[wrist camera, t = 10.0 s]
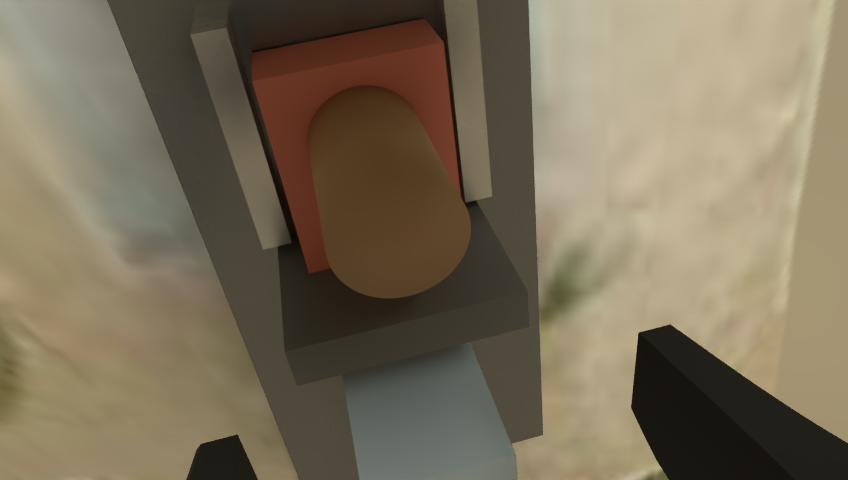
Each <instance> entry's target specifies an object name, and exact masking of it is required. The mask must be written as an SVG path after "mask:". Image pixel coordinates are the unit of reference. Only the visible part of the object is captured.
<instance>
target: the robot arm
mask: <svg viewBox="0 0 848 480" xmlns="http://www.w3.org/2000/svg"><path fill="white" fill-rule="evenodd" d="M631 408H632V411H633V413H634V415H635V417H636V419H637V421H638V423H639V425H640V427H641V430H642V432H643V434H644V436H645V438H646V440H647V442H648V444H649V446H650V448H651V450H652V452H653V454H654V456H655V458H656V460H657V461H658V463H659V465H660V466H661V468H662V469H663V471H664V473H665V474H666V476H667V477H668V479H669V480H848V443H846V442H845V441H843V440H841V439H840V438H838V437H837V436H835V435H833V434H832V433H830V432H828V431H826V430H825V429H823V428H822V427H820V426H818V425H816V424H815V423H813V422H812V421H810V420H808V419H807V418H805V417H804V416H802V415H800V414H799V413H798V412H796V411H794V410H793V409H791V408H790V407H788V406H787V405H785V404H784V403H782V402H781V401H779V400H778V399H776V398H775V397H773V396H772V395H770V394H769V393H767V392H766V391H764V390H763V389H761V388H760V387H758V386H757V385H755V384H754V383H753V382H751V381H750V380H748V379H747V378H745V377H744V376H742V375H741V374H739V373H738V372H737V371H735V370H734V369H732V368H731V367H730V366H728V365H727V364H725V363H724V362H722V361H721V360H720V359H718V358H717V357H715V356H714V355H713V354H711V353H710V352H708V351H707V350H706V349H704V348H703V347H701V346H700V345H698V344H697V343H696V342H694V341H693V340H691V339H690V338H689V337H687V336H686V335H684V334H683V333H682V332H680V331H679V330H677V329H676V328H674V327H673V326H671V325H667V326H663V327H659V328H655V329H651V330H647V331H643V332H639V334H638V344H637V354H636V364H635V375H634V385H633V395H632V405H631ZM186 480H258V479H257V477H256V474H255V472H254V470H253V468H252V466H251V463H250V461H249V459H248V457H247V454H246V452H245V450H244V448H243V446H242V443H241V441H240V439H239V437H238V435H234V436H230V437H227V438H223V439H219V440H215V441H211V442H207V443H203V444H201V445H200V446H199V447H198V449H197V450H196V453H195V456H194V459H193V462H192V465H191V468H190V471H189V474H188V477H187V479H186Z"/></svg>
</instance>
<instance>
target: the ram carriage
mask: <svg viewBox="0 0 848 480" xmlns="http://www.w3.org/2000/svg"><path fill="white" fill-rule="evenodd" d="M252 82H253V85H254V89H255V92H256V96H257V99H258V102H259V106H260V109H261V113H262V116H263V119H264V123H265V126H266V129H267V133H268V136H269V140H270V143H271V146H272V150H273V153H274V157H275V160H276V163H277V167H278V170H279V173H280V177H281V180H282V184H283V187H284V190H285V194H286V197H287V201H288V204H289V207H290V211H291V214H292V217H293V221H294V224H295V228H296V231H297V234H298V235H296V236H292V237H291V240H292V243H290V244H285V245H281V246H277V247H278V262H279V276H280V291H281V306H282V321H283V336H284V351H285V354H286V357H287V360H288V363H289V366H290V369H291V371H292V374H293V377H294V380H295V383H296V385H297V386H301V385H304V384H308V383H312V382H316V381H320V380H324V379H328V378H332V377H336V376H340V375H343V374H347V373H351V372H355V371H359V370H363V369H367V368H371V367H375V366H379V365H383V364H386V363H390V362H394V361H398V360H402V359H406V358H410V357H414V356H418V355H422V354H425V353H429V352H433V351H437V350H441V349H445V348H449V347H453V346H457V345H461V344H464V343H468V342H472V341H476V340H480V339H484V338H488V337H492V336H496V335H500V334H504V333H507V332H511V331H515V330H519V329H523V328H527V327H529V309H528V291H527V289H526V287H525V286H524V284H523V282H522V280H521V278H520V277H519V275H518V273H517V271H516V270H515V268H514V266H513V264H512V263H511V261H510V259H509V257H508V256H507V254H506V252H505V250H504V249H503V247H502V245H501V243H500V242H499V240H498V238H497V236H496V234H495V233H494V231H493V229H492V227H491V226H490V224H489V222H488V220H487V219H486V217H485V215H484V213H483V212H482V210H481V208H480V206H479V205H478V203H477V201H476V200H475V201H470V202H466V203H465V201H464V199H463V197H461V193H460V184H459V175H458V166H457V157H456V148H455V139H454V130H453V121H452V113H451V104H450V95H449V86H448V77H447V68H446V59H445V50H444V42H443V41H442V40H441V38H440V37H439V36H438V35H437V33H436V32H435V31H434V30H433V28H432V27H431V26H430V25H429V23H428V22H427V21H426V20H425V18H424V19H419V20H414V21H409V22H404V23H399V24H394V25H389V26H384V27H379V28H374V29H369V30H364V31H359V32H354V33H349V34H344V35H339V36H334V37H329V38H324V39H319V40H314V41H309V42H304V43H299V44H294V45H289V46H284V47H279V48H274V49H269V50H264V51H259V52H254V53H252Z"/></svg>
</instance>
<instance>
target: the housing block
mask: <svg viewBox="0 0 848 480" xmlns="http://www.w3.org/2000/svg"><path fill="white" fill-rule="evenodd" d="M342 377H343V383H344V389H345V395H346V401H347V407H348V413H349V419H350V425H351V431H352V437H353V443H354V449H355V455H356V462H357V468H358V474H359V480H518V478H517V466H516V454H515V452H514V449H513V447H512V444H511V442H510V439H509V437H508V434H507V432H506V429H505V427H504V425H503V422H502V420H501V417H500V415H499V412H498V410H497V407H496V405H495V403H494V400H493V398H492V395H491V393H490V390H489V388H488V385H487V383H486V381H485V378H484V376H483V373H482V371H481V368H480V366H479V363H478V361H477V359H476V356H475V354H474V351H473V349H472V346H471V344H470V342H468V343H464V344H461V345H457V346H453V347H449V348H445V349H441V350H437V351H433V352H429V353H425V354H422V355H418V356H414V357H410V358H406V359H402V360H398V361H394V362H390V363H386V364H383V365H379V366H375V367H371V368H367V369H363V370H359V371H355V372H351V373H347V374H343V375H342Z"/></svg>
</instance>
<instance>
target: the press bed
mask: <svg viewBox="0 0 848 480" xmlns="http://www.w3.org/2000/svg"><path fill="white" fill-rule="evenodd" d="M107 1H108V3H109V6H110V8H111V11H112V13H113V16H114V18H115V21H116V23H117V26H118V28H119V31H120V33H121V36H122V38H123V41H124V43H125V46H126V48H127V51H128V53H129V56H130V58H131V61H132V63H133V66H134V68H135V71H136V73H137V75H138V78H139V80H140V83H141V85H142V88H143V90H144V93H145V95H146V98H147V100H148V103H149V105H150V108H151V110H152V113H153V115H154V118H155V120H156V123H157V125H158V128H159V130H160V133H161V135H162V138H163V140H164V143H165V145H166V148H167V150H168V153H169V155H170V158H171V160H172V163H173V165H174V168H175V170H176V173H177V175H178V178H179V180H180V183H181V185H182V188H183V190H184V193H185V195H186V198H187V200H188V203H189V205H190V208H191V210H192V213H193V215H194V218H195V220H196V223H197V225H198V228H199V230H200V233H201V235H202V238H203V240H204V243H205V245H206V248H207V250H208V253H209V255H210V258H211V260H212V263H213V265H214V268H215V270H216V272H217V275H218V277H219V280H220V282H221V285H222V287H223V290H224V292H225V295H226V297H227V300H228V302H229V305H230V307H231V310H232V312H233V315H234V317H235V320H236V322H237V325H238V327H239V330H240V332H241V335H242V337H243V340H244V342H245V345H246V347H247V350H248V352H249V355H250V357H251V360H252V362H253V365H254V367H255V370H256V372H257V375H258V377H259V380H260V382H261V385H262V387H263V390H264V392H265V395H266V397H267V400H268V402H269V405H270V407H271V410H272V412H273V415H274V417H275V420H276V422H277V425H278V427H279V430H280V432H281V435H282V437H283V440H284V442H285V445H286V447H287V450H288V452H289V455H290V457H291V460H292V462H293V465H294V467H295V469H296V472H297V474H298V477H299V479H300V480H359V474H358V468H357V462H356V455H355V449H354V443H353V437H352V431H351V425H350V419H349V413H348V407H347V401H346V395H345V389H344V383H343V377H342V375H340V376H336V377H332V378H328V379H324V380H320V381H316V382H312V383H308V384H304V385H301V386H297V385H296V383H295V380H294V377H293V374H292V371H291V369H290V366H289V363H288V360H287V357H286V354H285V351H284V336H283V321H282V306H281V291H280V276H279V262H278V247H277V246H281V245H285V244H290V243H292V240H291V237H292V236H296V235H298V234H297V231H296V228H295V224H294V221H293V217H292V214H291V211H290V207H289V204H288V201H287V197H286V194H285V190H284V187H283V184H282V180H281V177H280V173H279V170H278V167H277V163H276V160H275V157H274V153H273V150H272V146H271V143H270V140H269V136H268V133H267V129H266V126H265V123H264V119H263V116H262V113H261V109H260V106H259V102H258V99H257V96H256V92H255V89H254V85H253V82H252V53H254V52H259V51H264V50H269V49H274V48H279V47H284V46H289V45H294V44H299V43H304V42H309V41H314V40H319V39H324V38H329V37H334V36H339V35H344V34H349V33H354V32H359V31H364V30H369V29H374V28H379V27H384V26H389V25H394V24H399V23H404V22H409V21H414V20H419V19H424V18H425V20H426V21H427V22H428V23H429V25H430V26H431V27H432V28H433V30H434V31H435V32H436V33H437V35H438V36H439V37H440V38H441V40H442V41H443V42H444V50H445V59H446V68H447V77H448V86H449V95H450V104H451V113H452V121H453V130H454V139H455V148H456V157H457V166H458V175H459V184H460V193H461V197H463V199H464V201H465V203H466V202H470V201H475V200H476V201H477V203H478V205H479V206H480V208H481V210H482V212H483V213H484V215H485V217H486V219H487V220H488V222H489V224H490V226H491V227H492V229H493V231H494V233H495V234H496V236H497V238H498V240H499V242H500V243H501V245H502V247H503V249H504V250H505V252H506V254H507V256H508V257H509V259H510V261H511V263H512V264H513V266H514V268H515V270H516V271H517V273H518V275H519V277H520V278H521V280H522V282H523V284H524V286H525V287H526V289H527V291H528V309H529V327H527V328H523V329H519V330H515V331H511V332H507V333H504V334H500V335H496V336H492V337H488V338H484V339H480V340H476V341H472V342H470V344H471V346H472V349H473V351H474V354H475V356H476V359H477V361H478V363H479V366H480V368H481V371H482V373H483V376H484V378H485V381H486V383H487V385H488V388H489V390H490V393H491V395H492V398H493V400H494V403H495V405H496V407H497V410H498V412H499V415H500V417H501V420H502V422H503V425H504V427H505V429H506V432H507V434H508V437H509V439H510V442H511V443H515V442H519V441H522V440H526V439H530V438H533V437H537V436H540V435H543V423H542V393H541V364H540V334H539V305H538V275H537V246H536V216H535V186H534V157H533V127H532V98H531V68H530V39H529V9H528V0H107Z"/></svg>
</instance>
